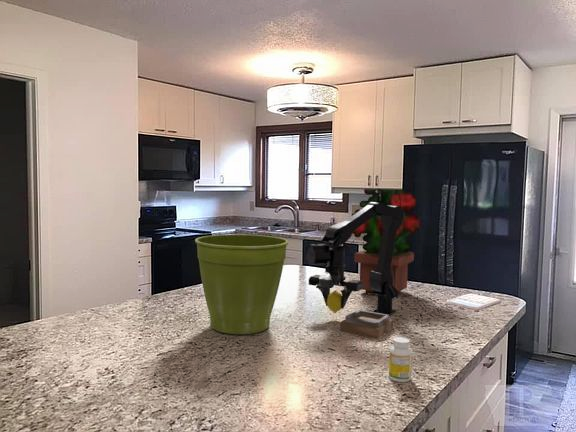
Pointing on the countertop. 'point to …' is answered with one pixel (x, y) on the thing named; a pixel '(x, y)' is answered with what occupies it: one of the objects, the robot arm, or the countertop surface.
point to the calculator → (473, 301)
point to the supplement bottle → (400, 360)
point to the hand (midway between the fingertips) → (334, 307)
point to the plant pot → (240, 279)
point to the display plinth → (367, 324)
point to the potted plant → (374, 237)
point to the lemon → (334, 301)
